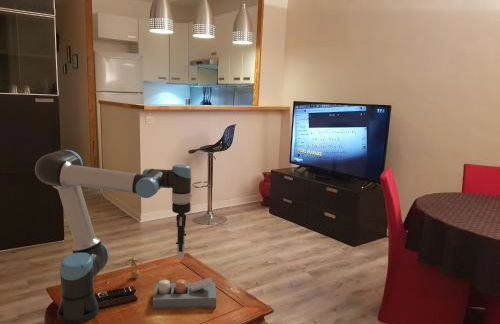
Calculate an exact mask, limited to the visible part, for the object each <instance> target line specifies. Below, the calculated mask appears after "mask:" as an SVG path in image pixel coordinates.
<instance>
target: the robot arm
mask: <svg viewBox="0 0 500 324" xmlns="http://www.w3.org/2000/svg"><path fill="white" fill-rule="evenodd" d="M83 163H84V162H83V160H82V158H81V156H80V155H79V154H78V153H77V152H75V151H73V150H70V149H62V150H61V149H60V150H56V151H54V152H51V153H47V154H45V155H43V156H41V157H40V158H38V160H37V161H36V163H35V165H34V172H35V176H36V177H37V179H38V180H39V181H41V183H44V184H46V185H48V186H49V185H50V186H52V188H54V189H56V190H57V192H58V194H59V198H60V201H61V205H62V208H63V212H64V215H65V216H66V221H67V223H68V227H69V231H70V233H71V237H72V239H73V243H74V244H73V245H72V247H71V250H72V254H69V255H67V256H65V257H64V258H63V259H62V260H61V262H60V268H59V274H60V291H61V292H60V293H61V299H60V302H59V305H58V308H57V314H56V315H57V320H58V321H59V322H61V323H63V324H81V323H85V322H89V321H90V320H92V319H93V318H94V317H95V316H97V315H98V313H99V303H98V301H97V298H96V295H95V292H94V279H95V277H97V276H98V274H99V273H100V272H101V271H102V270H103V269H104V268H105V266H106V265H107V263H108V261H109V258H110V257H109V256H110V252H109V249H108V248H107V246H106V245H105V244H103V243H102V241H101V240H102V239H101V238H98V237H96V234H95V231H94V230H95V229H94V228H93V223H92V221H91V217H90V213H89V210H88V207H87V203H86V200H85V196H84V193H83V189H82V187H84V188H92V189H98V190H105V191H113V192H119V193H121V192H122V193H129V194H136V195H138V196H139V197H141V198H142V199H143V198H144V199H150V198H152V197H153V196H155V195H156V194H157V193H158V192H159V190H160V189H172V190H171V195H172V196H171V203H172V204H171V206H172V208H171V211H172V212H173V213H174V214H176V218H175V219H176V227H177V239H176V240H177V241H176V242H175V245H176V247H177V249H176V250H177V252H176V257H177V258H176V259H185V251H186V249H185V246H186V245H185V243H186V242H185V241H186V239H185V237H186V236H187V233H186V230H185V229H186V222H187V214H188V213H190V211H191V199H192V197H193V194H192V193H191V192H192V191H191V189H192V185H191V183H192V172H191V169H192V168H191V166H189V165H187V164H173V166H172V168H171V169H163V168H162V169H161V168H159V169H158V168H156V169H155V168H145V169H143V171H142V173H134V172H126V171H120V170H111V169H105V168H99V167H93V166H92V167H91V166H85V165H84V166H83Z"/></svg>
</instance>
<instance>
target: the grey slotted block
mask: <svg viewBox="0 0 500 324" xmlns="http://www.w3.org/2000/svg"><path fill="white" fill-rule="evenodd" d="M191 283H192V282H186V293H184V294H177V293H175V282H170V292H169V293H168V294H163V295H161V294H159V282H158V283H156V285H155V288H154V293H153V297H152V310H153V311H154V310H184V309H185V310H186V309H190V310H191V309H213V308H214V309H215V308H217V292H216V291H217V290H216V282H215V281H212V286H209V287H206V288H203V290H201V289H200V290H197V291H194V292H191Z"/></svg>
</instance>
